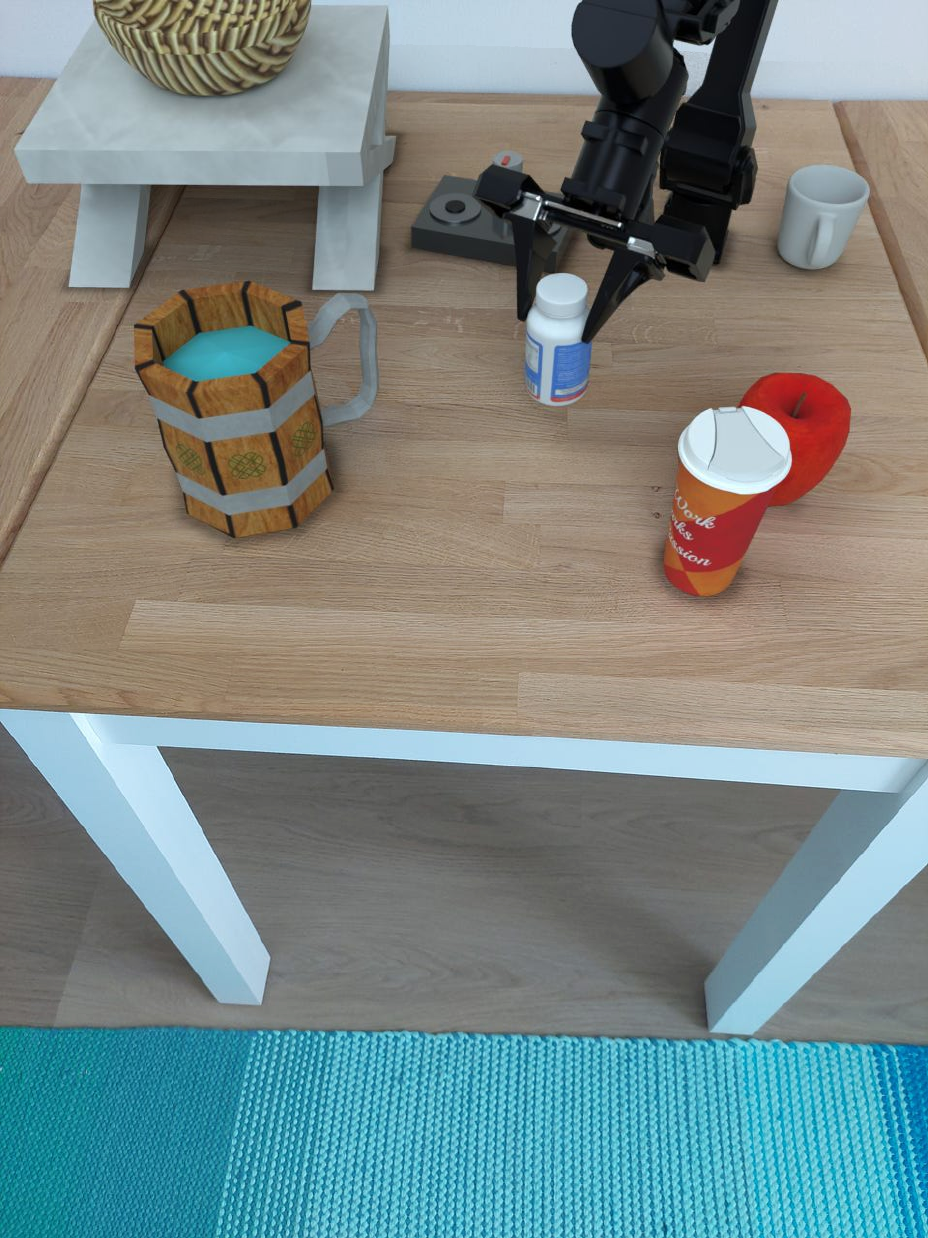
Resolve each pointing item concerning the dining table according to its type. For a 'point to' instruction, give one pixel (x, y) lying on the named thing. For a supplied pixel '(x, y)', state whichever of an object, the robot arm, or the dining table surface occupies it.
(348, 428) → the dining table surface
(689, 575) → the paper cup
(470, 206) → the burners
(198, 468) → the mug
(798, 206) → the cup
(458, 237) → the hob
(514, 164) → the hob knob
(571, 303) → the pill bottle
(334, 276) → the grey stone stand
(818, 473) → the apple
